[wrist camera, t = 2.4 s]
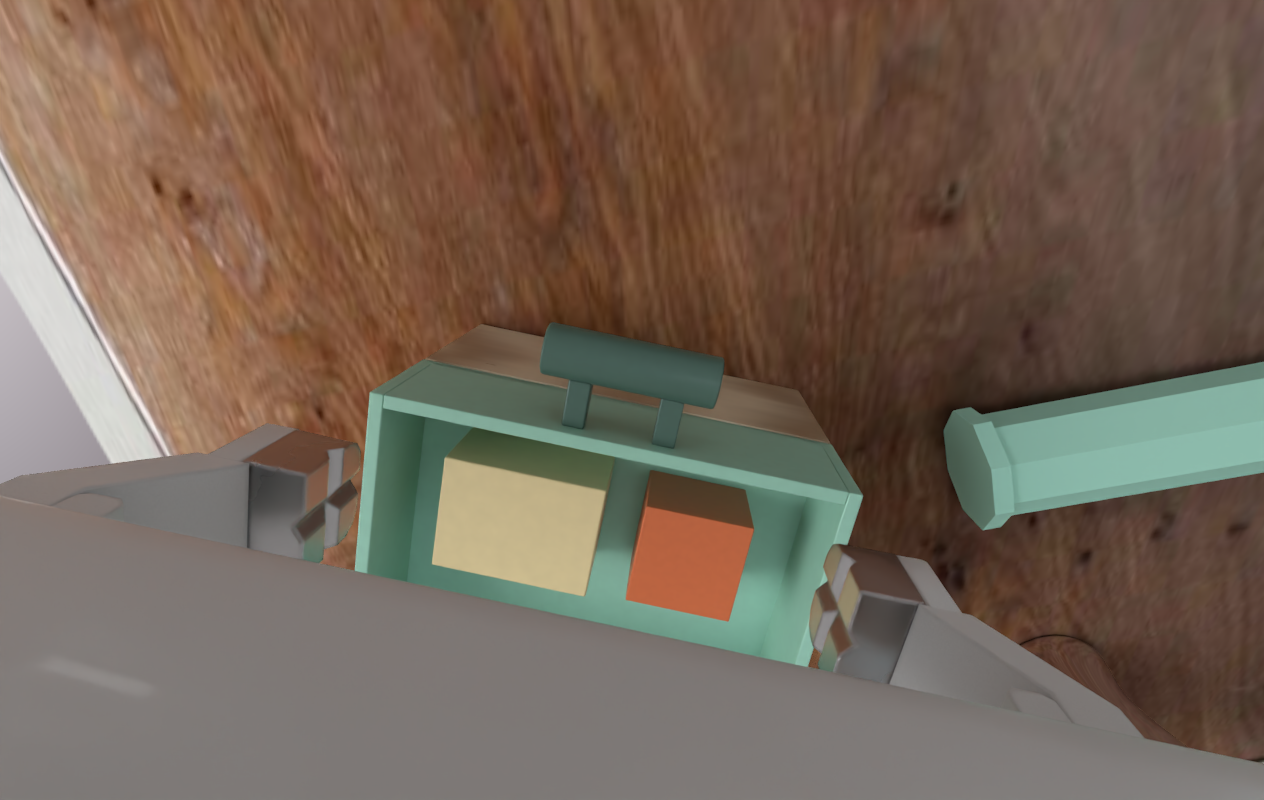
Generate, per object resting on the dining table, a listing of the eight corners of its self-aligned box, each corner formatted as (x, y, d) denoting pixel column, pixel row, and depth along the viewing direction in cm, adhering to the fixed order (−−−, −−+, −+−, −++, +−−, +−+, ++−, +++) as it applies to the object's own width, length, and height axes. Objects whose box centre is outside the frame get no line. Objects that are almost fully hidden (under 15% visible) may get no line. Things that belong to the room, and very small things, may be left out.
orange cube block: (631, 554, 29) (625, 600, 25) (650, 469, 28) (646, 506, 24) (723, 573, 29) (728, 622, 25) (746, 489, 28) (754, 528, 24)
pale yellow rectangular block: (459, 522, 29) (430, 565, 26) (473, 426, 28) (443, 457, 24) (596, 552, 29) (585, 597, 26) (615, 456, 28) (606, 491, 24)
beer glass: (982, 636, 38) (1161, 896, 24) (1112, 619, 38) (1377, 879, 23) (990, 735, 40) (1160, 1031, 26) (1114, 721, 39) (1361, 1020, 25)
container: (1674, 350, 26) (1002, 469, 29) (1577, 458, 30) (989, 555, 32) (1511, 277, 31) (946, 386, 33) (1444, 378, 34) (940, 469, 37)
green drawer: (398, 589, 31) (346, 660, 26) (432, 276, 26) (377, 292, 22) (764, 667, 30) (779, 753, 26) (856, 364, 26) (895, 400, 22)
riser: (456, 510, 39) (400, 586, 31) (480, 323, 35) (424, 357, 28) (747, 571, 38) (764, 664, 31) (798, 390, 35) (831, 442, 27)
